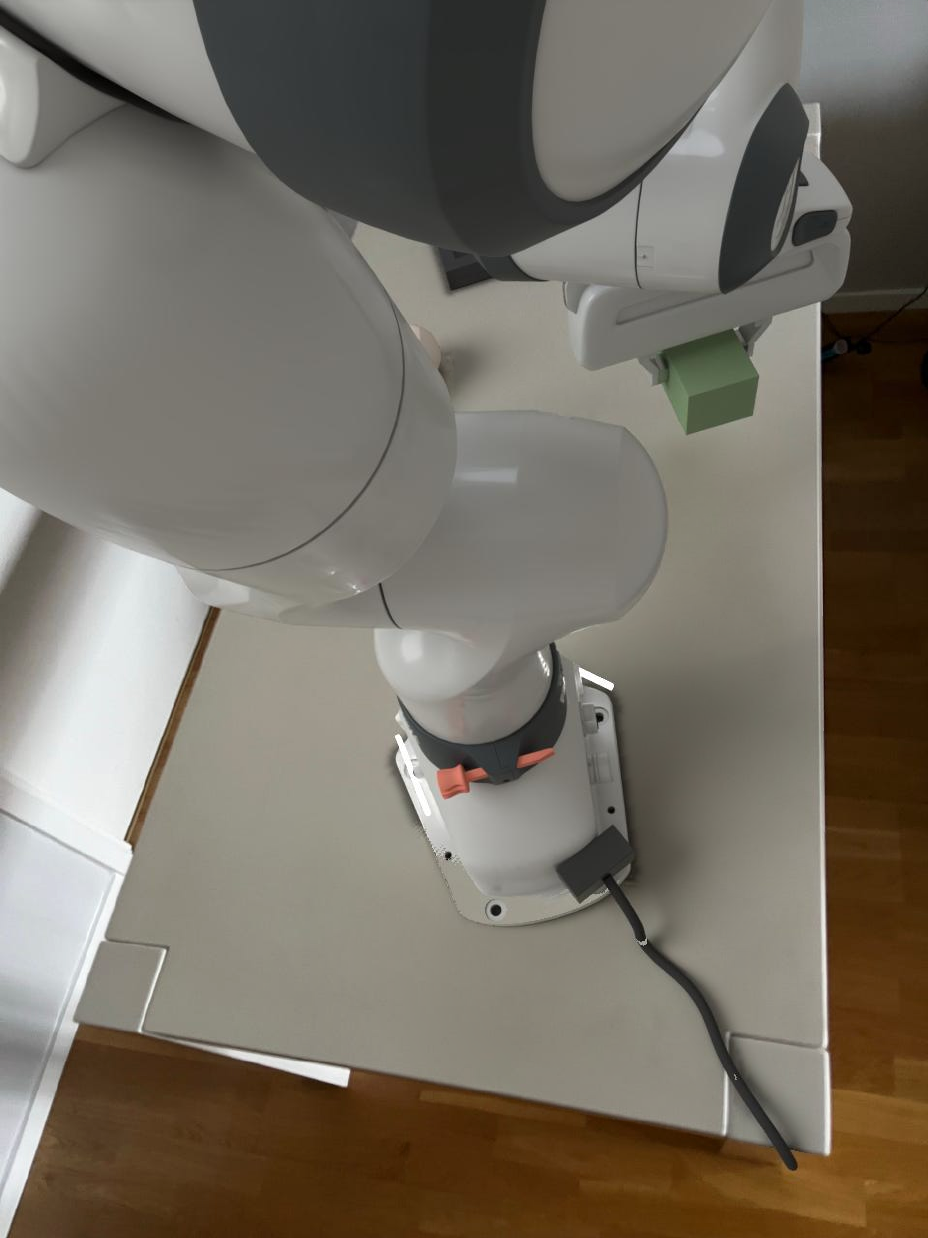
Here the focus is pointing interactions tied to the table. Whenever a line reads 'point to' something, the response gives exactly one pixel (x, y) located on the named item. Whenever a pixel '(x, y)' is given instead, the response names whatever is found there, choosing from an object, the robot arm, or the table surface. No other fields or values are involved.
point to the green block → (710, 381)
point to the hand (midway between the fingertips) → (698, 366)
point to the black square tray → (461, 268)
